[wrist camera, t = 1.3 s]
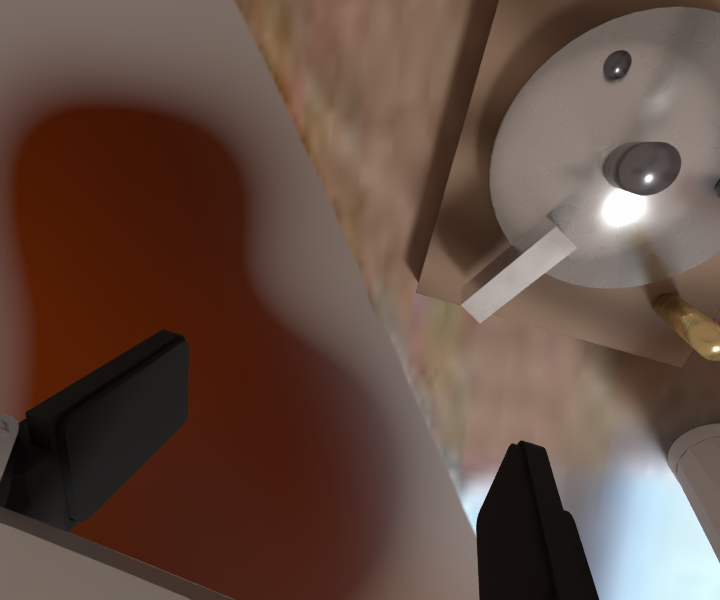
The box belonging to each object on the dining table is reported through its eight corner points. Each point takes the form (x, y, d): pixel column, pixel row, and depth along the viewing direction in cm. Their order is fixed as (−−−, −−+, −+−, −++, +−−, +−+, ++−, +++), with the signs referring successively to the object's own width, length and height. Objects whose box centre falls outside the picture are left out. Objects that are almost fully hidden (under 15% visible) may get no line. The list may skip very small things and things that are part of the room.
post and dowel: (587, 156, 22) (620, 160, 17) (632, 132, 21) (682, 130, 16) (656, 320, 25) (703, 365, 20) (700, 305, 24) (761, 349, 19)
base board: (525, -90, 21) (530, -112, 19) (917, -40, 18) (967, -60, 16) (418, 283, 30) (415, 292, 28) (667, 353, 27) (681, 368, 25)
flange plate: (656, -56, 18) (709, -111, 14) (840, 154, 20) (936, 158, 16) (397, 217, 26) (385, 231, 22) (539, 355, 27) (551, 392, 23)
